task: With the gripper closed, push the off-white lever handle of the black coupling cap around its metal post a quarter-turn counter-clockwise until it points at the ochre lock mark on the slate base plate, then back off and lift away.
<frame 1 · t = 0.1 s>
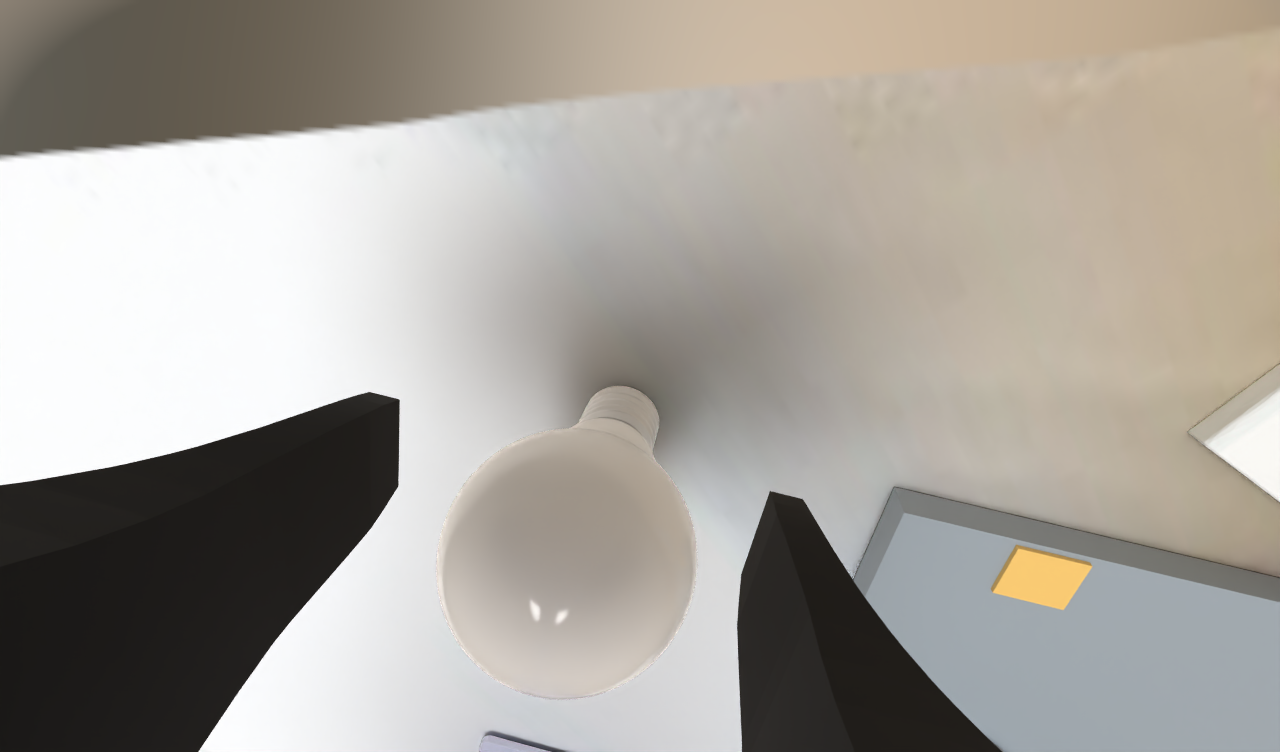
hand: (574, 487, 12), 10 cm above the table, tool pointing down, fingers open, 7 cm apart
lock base: (1029, 721, 26), on the table
lightbulb: (626, 408, 23), on the table
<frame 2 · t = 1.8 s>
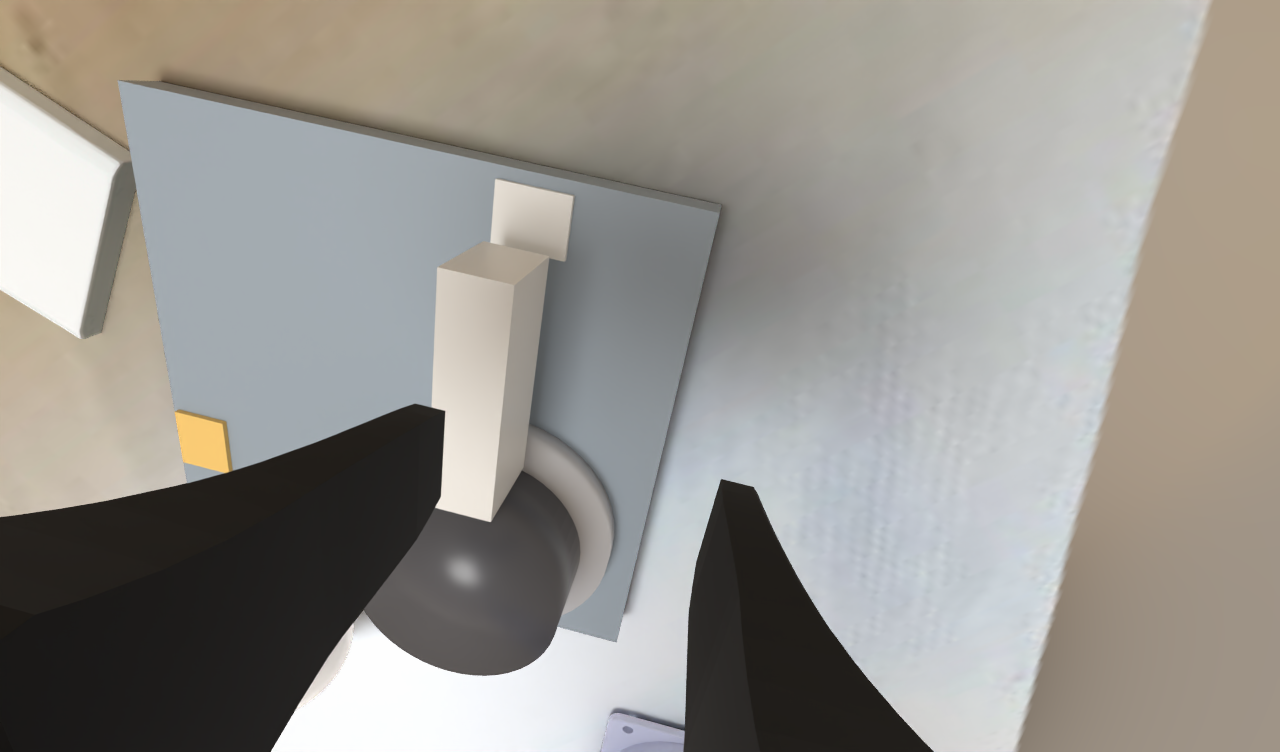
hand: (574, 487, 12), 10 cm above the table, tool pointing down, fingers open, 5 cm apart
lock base: (423, 385, 24), on the table
coupling cap: (479, 479, 20), point 4 cm above the table, hinge at 0.0°
lightbulb: (225, 669, 31), point 1 cm above the table
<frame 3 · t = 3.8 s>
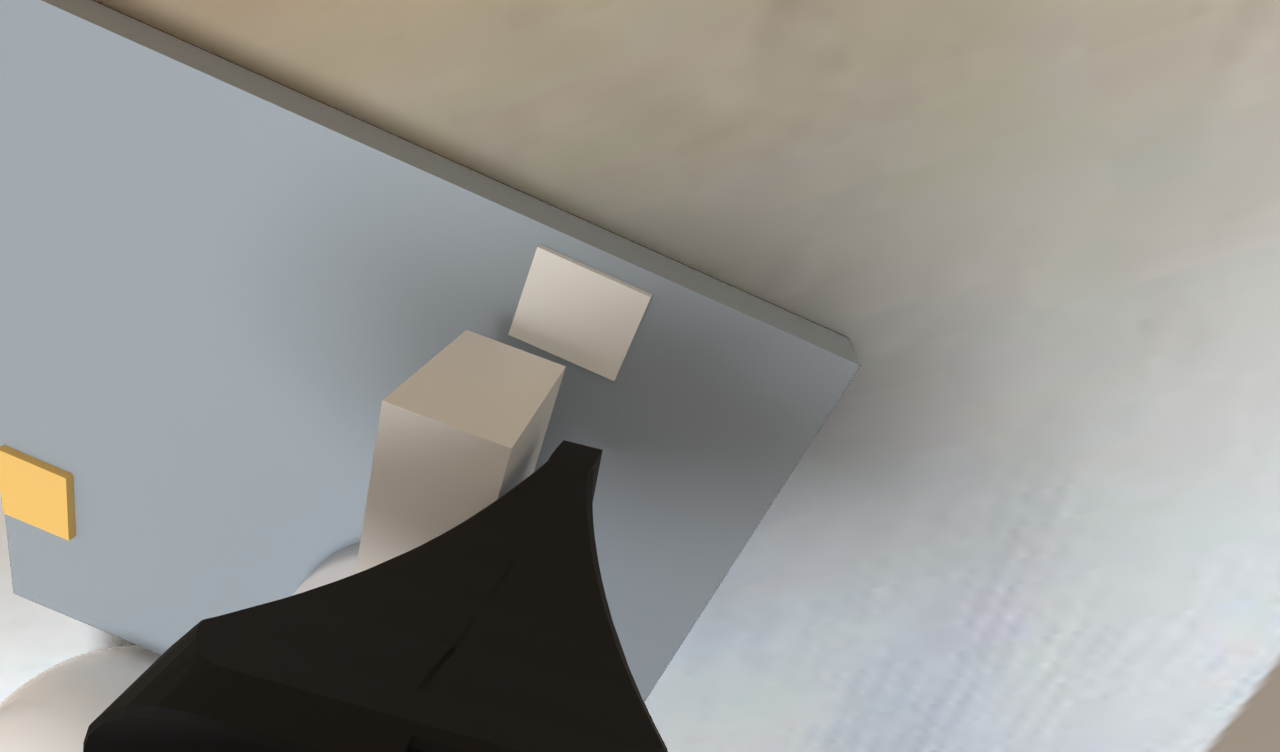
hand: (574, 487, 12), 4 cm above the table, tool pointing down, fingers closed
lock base: (370, 473, 17), on the table
coupling cap: (419, 659, 13), point 4 cm above the table, hinge at 3.9°, touching gripper
lightbulb: (39, 750, 24), point 1 cm above the table
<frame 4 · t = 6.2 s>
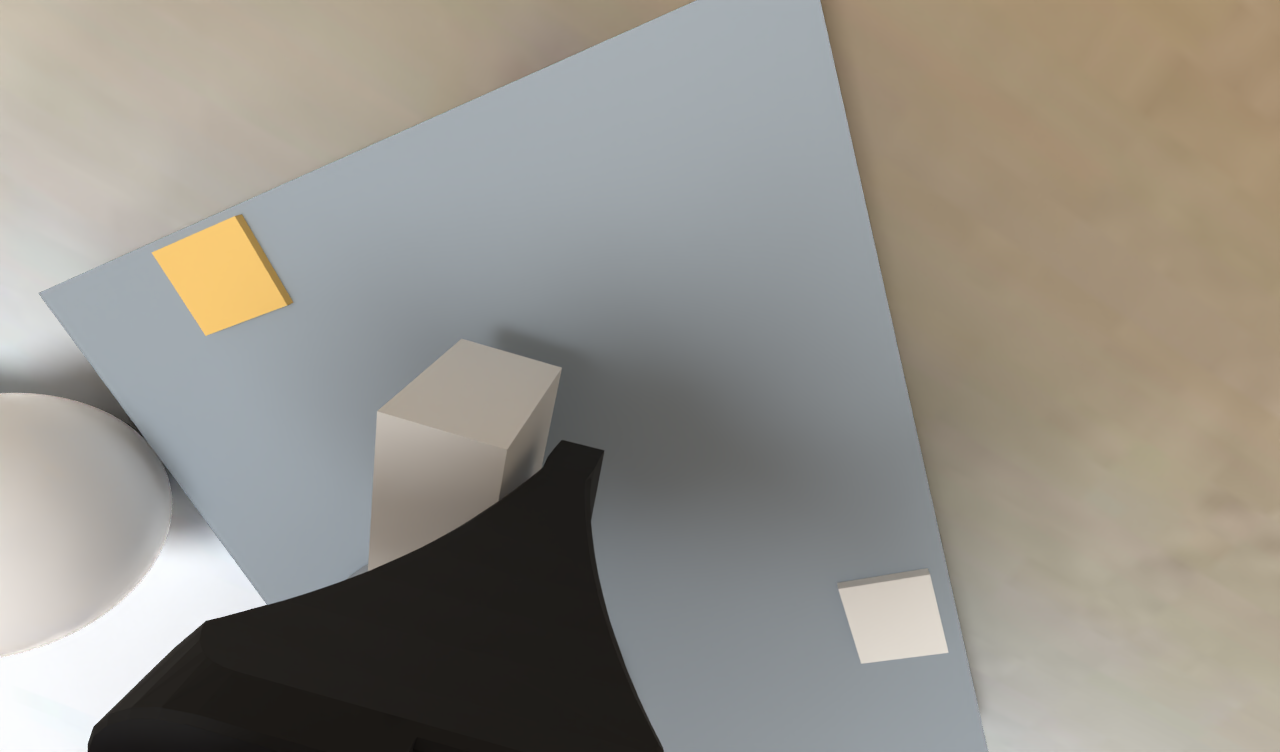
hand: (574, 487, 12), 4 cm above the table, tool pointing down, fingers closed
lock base: (555, 504, 17), on the table
coupling cap: (440, 671, 13), point 4 cm above the table, hinge at 56.0°, touching gripper
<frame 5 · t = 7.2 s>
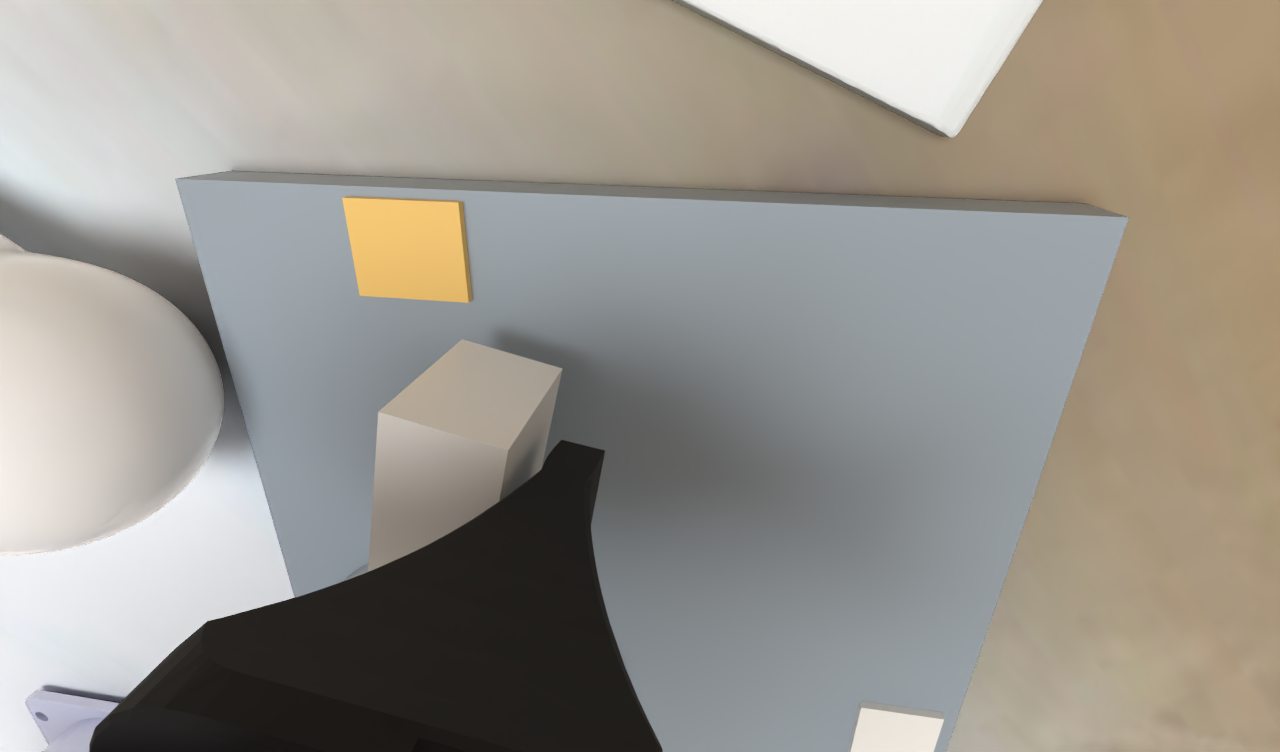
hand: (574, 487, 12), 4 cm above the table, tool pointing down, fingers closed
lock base: (617, 546, 17), on the table
coupling cap: (440, 671, 13), point 4 cm above the table, hinge at 77.1°, touching gripper
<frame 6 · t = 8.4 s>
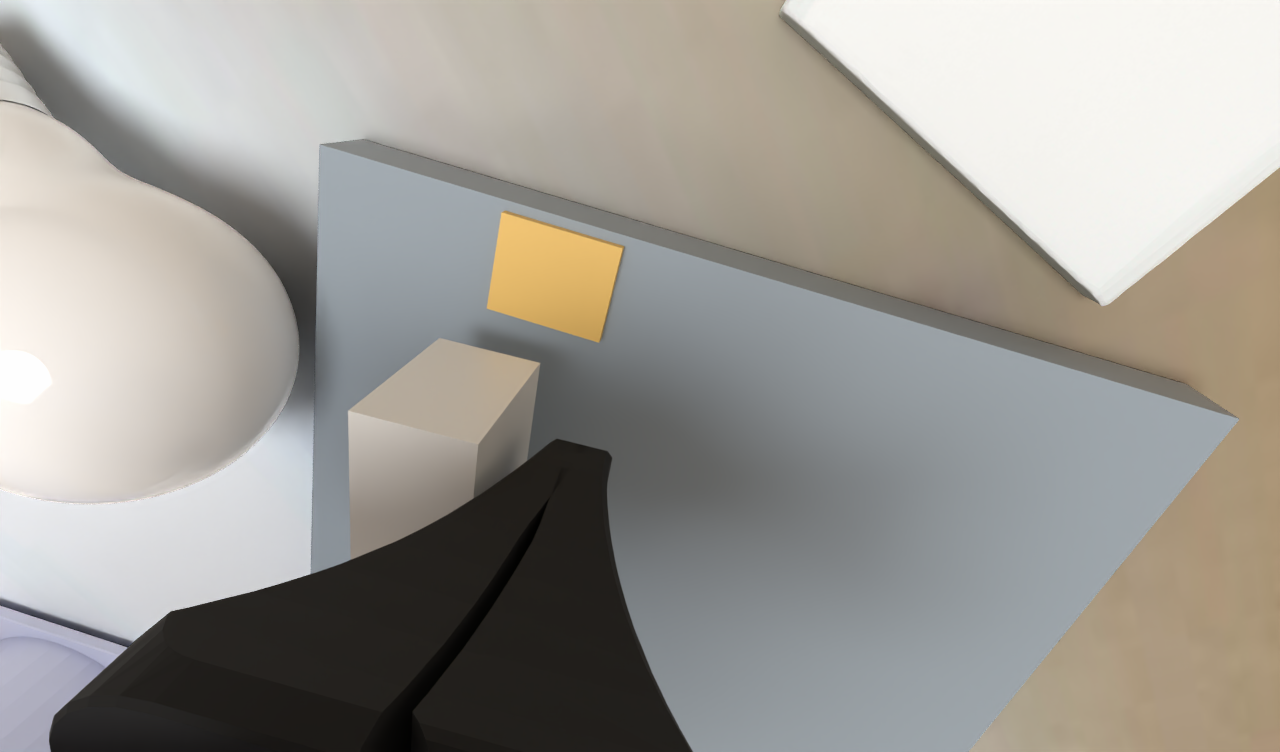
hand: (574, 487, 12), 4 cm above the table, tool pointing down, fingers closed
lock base: (650, 582, 17), on the table
coupling cap: (435, 672, 13), point 4 cm above the table, hinge at 93.4°, touching gripper
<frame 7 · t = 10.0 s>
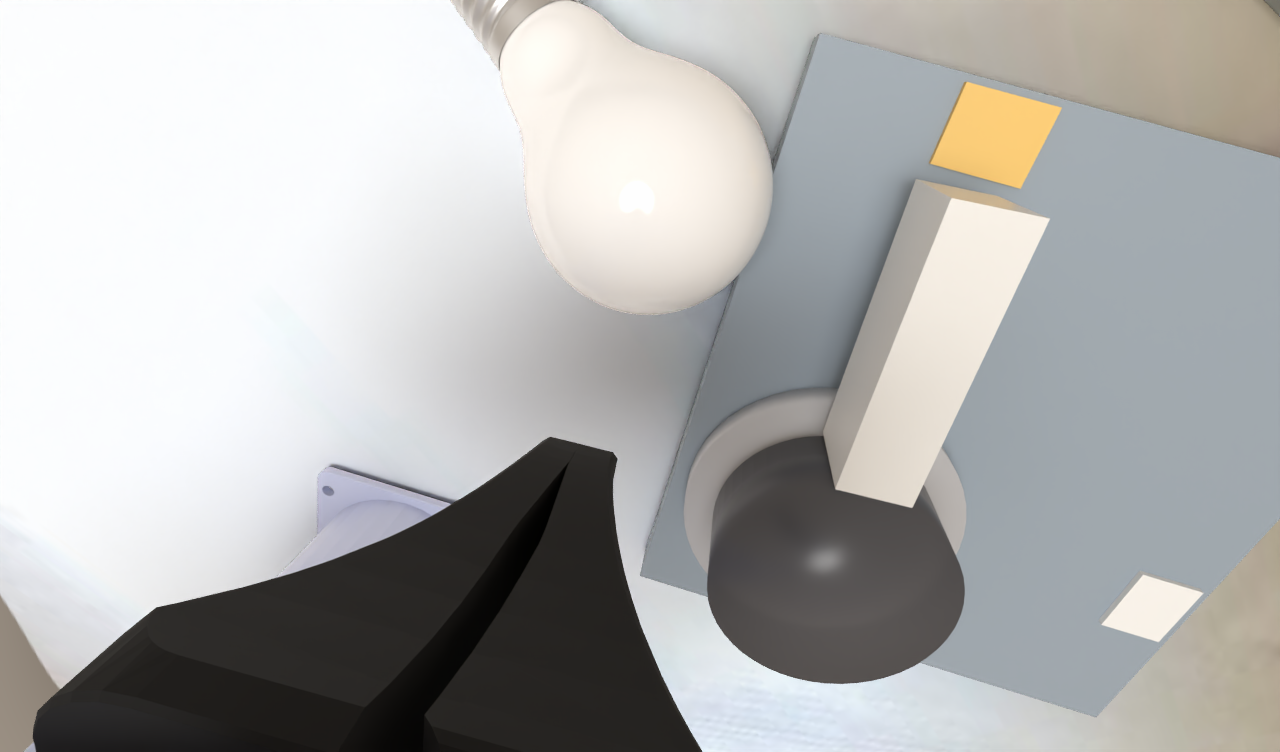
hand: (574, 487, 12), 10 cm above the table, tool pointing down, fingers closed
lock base: (970, 420, 21), on the table
coupling cap: (866, 459, 17), point 4 cm above the table, hinge at 93.6°
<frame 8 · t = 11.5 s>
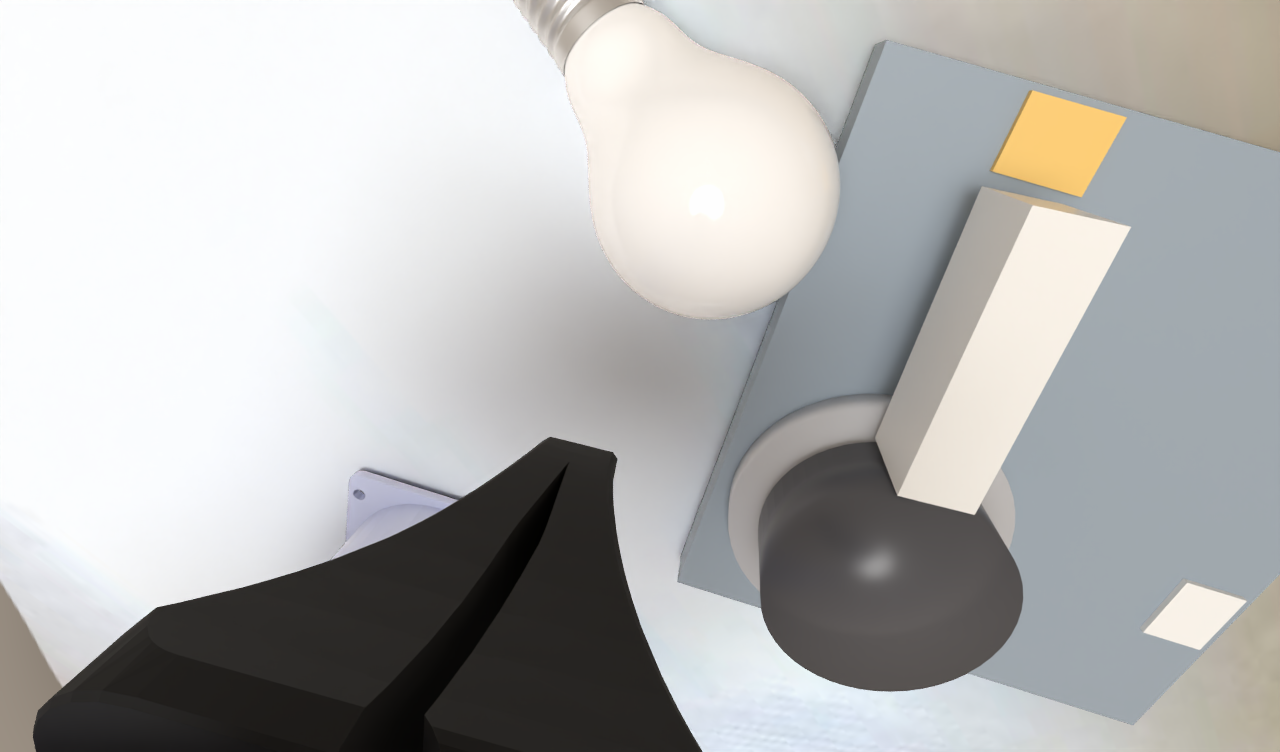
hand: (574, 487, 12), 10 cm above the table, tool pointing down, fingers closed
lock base: (1015, 428, 21), on the table
coupling cap: (924, 465, 17), point 4 cm above the table, hinge at 93.6°
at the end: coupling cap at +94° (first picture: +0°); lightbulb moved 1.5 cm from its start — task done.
